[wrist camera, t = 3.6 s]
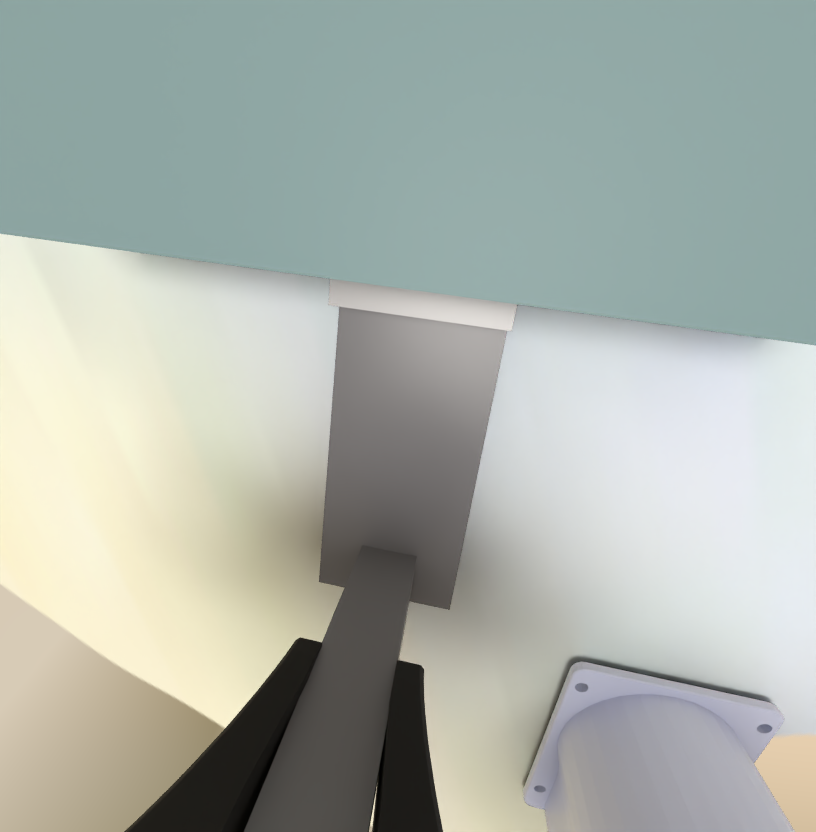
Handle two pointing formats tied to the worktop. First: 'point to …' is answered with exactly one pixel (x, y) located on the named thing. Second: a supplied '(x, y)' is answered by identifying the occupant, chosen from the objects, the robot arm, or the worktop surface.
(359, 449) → the scraper
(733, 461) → the worktop surface
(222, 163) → the grey-green bridge-shaped bar
